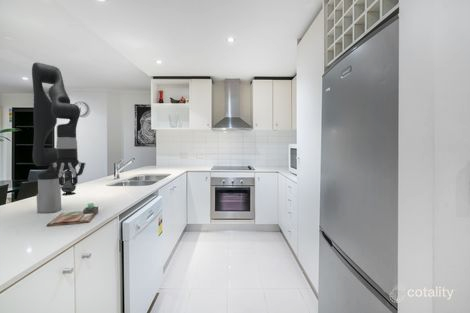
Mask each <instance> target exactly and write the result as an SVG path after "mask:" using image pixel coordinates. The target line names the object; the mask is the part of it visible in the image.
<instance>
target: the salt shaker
mask: <svg viewBox="0 0 470 313" xmlns="http://www.w3.org/2000/svg"><path fill="white" fill-rule="evenodd" d="M63 177H64V185H63V186H61V191H62V192H63V193H61V196H64V197H65V196H73V195H76V194H77V193H76V192H74V191H76V187H77V184H76V185H73V174H72V172H71V170H65V172H64V175H63Z"/></svg>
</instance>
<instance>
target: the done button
mask: <svg viewBox="0 0 470 313" xmlns="http://www.w3.org/2000/svg"><path fill="white" fill-rule="evenodd" d="M87 207H88V209H94V207H95V206H94V203H87Z"/></svg>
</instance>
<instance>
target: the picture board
mask: <svg viewBox="0 0 470 313" xmlns="http://www.w3.org/2000/svg"><path fill="white" fill-rule="evenodd" d="M98 212H99V206H94V209H88V206H87V207H85V208H84V209H83V210H81V211H80V210H78V211H66V212H61V213H59V215H57V216H56V217H55V218H53V219H52V220H51V221H50V222H48V223H47V224H46V227H55V226H66V225H76V224H77V225H79V224H89V223H91V221H92V220H93V219H94V217H96V215H97V214H98Z"/></svg>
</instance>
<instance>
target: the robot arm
mask: <svg viewBox="0 0 470 313" xmlns="http://www.w3.org/2000/svg"><path fill="white" fill-rule="evenodd" d="M31 78H32V79H31V81H32V90H33V112H32V113H33V142H32V143H33V144H32V162H33V164H34V165H35V166H36V167H47V166H48V168H47V169H46V170H43V171H41V172H39V173H38V174H37V191H38V192H37V194H36V213H37V214H49V213H55V212H56V213H57V212H59V211H61V210H62V192H61V191H62V188H61V187H62V186H64V183H65V182H64V178H65V176H64V172H65V171H67V170H70V171H71V172H72V178H73V179H72V183H73V185H76V186H77V184H78V183H79V182H78V180H79V179H78V178H79V176H81V175H83V173H84V170H85V167H86V162H80V161H79V159H78V155H79V154H78V140H77V126H78V121H79V118H80V115H81V109H80V107H79V106H78V105H77V104H76V103H75V104H74V103H71V100H70V97H69V94H68V92H67V91H66V88H65V84H64V80H63V75H62V72H61V70H60V68H58V67H57V66H55V65H49V64H47V63H46V64H45V63H40V62H33V64H32V66H31ZM43 84H48V85H51V86H50V87H49V89H48V93H47V94H48V95H47V94H46V92H45V89H44V87H43ZM58 119H61V120H62V119H63V120H69V121H68V122H67V123H62V124H61V123H60V124H58V125H57V123H58ZM56 125H57V126H56ZM55 127H56V137H57V138H56V147H45V144H46V141H47V138H48V136H49V135H50V133H51V132H52V131H53V129H54V128H55ZM77 166H78V168H79V169H78V171H77V168H76V167H77Z"/></svg>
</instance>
